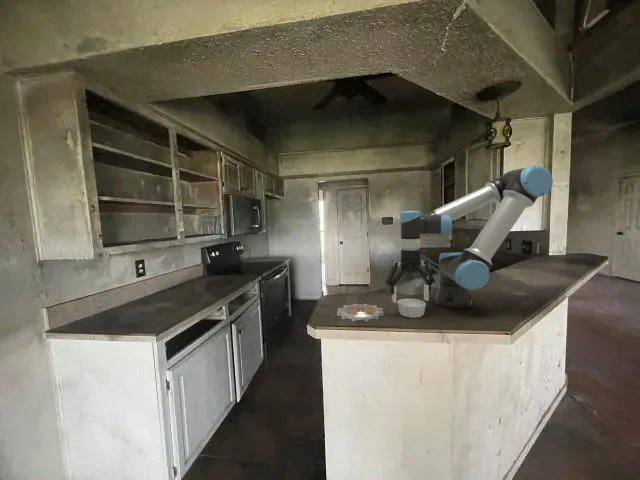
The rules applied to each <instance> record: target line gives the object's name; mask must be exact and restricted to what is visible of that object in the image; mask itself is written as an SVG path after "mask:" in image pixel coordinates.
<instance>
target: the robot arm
mask: <svg viewBox="0 0 640 480" xmlns="http://www.w3.org/2000/svg"><path fill="white" fill-rule="evenodd" d="M552 177H553V176H552V173H551V172H550V171H549V170H548V168H546V167H545V166H543V165H542V166H541V165H529V166H526V167H523V168H516V169H513V170H510V171H508V172H506V173H504V174H502V175H500V176H499V177H496V178H494V179H493V180H491V181H489V182H486V183H485V185H484V186H483V187H481V188H478V189H476V190H475V191H472V192H470V193H469V194H466V195H464V196H462V197H459V198H457V199H455V200H453V201H450V202H448V203H447V204H444V205H442V206H440V207H438V208H436V209H433V210H431V211H429V212H427V213H425V214H421V211H420V210H403V211H402V212H401V213H400V248H401V249H400V261H395V260H393V262H392V267H391V269H390V271H389V274H388V275H387V277H386V280H385V282H384V283H385V284H386V285H388V286H389V293H390V294H391V302H393V303H394V304H396V303H397V286H396V284H397V283H398V282H399V281H400V279H401V278H402V277H403V275H405V274H406V273H415V272H416V273H417V274H418V275H419V277H420V278H421V279H422V280H423V282H425V283H423V301H425V302H426V301H427V302H428V301H429V298H430V293H431V290H432V289H431V288H432V287H431V286H432V285H433V284H435V283H436V280H435V277H434V276H433V273H432V271H431V269H430V267H429V262H428V260H425V259H423V260H421V250H420V249H421V235H443V234H444V235H445V234H450V233H451V232H452V229H453V221H454V220H457V219H459V218H461V217H463V216H465V215H469V214H470V213H471V212H474V211H476V210H478V209H481V208H483V207H485V206H488V205H489V204H491V203H494V204H497V203H499V205H497V207H496V209H495V210H494V212H493V213H492V214H491V217H489V219H488V221H487V222H486V224H485V225H484V227H483V228H482V229H481V231H480V232H479V234H478V236H477V237H476V238H475V240H474V241H473V243H472V244H471V246H470V247H469V248H464V249H463V250H462V252H461V251H460V252H459V251H458V252H441V253H440V254H439V259H438V262H439V263H438V265H439V266H438V267H439V268H438V270H439V276H438V277H439V286H438V289H437V293H436V295H435V303H436V304H437V305H439V306H442V307H445V308H446V307H447V308H453V309H462V308H463V309H465V308H470V307H471V306H473V299H472V295H471V293H470V290H478V289H481V288H483V287H484V286H485V285H486V284H487V283H488V282H489V280H490V276H491V275H490V269H491V267H492V266H493V263H492V258H493V256H494V255H495V254H496V252H497V251H498V249H499V248H500V246H501V245H502V244H503V242H504V240H505V239H506V237H507V236H508V234H509V233H510V231H511V230H512V228H513V227H514V225H515V224H516V223H517V222H518V220H519V218H520V217H521V215H522V214H523V213H524V211H525V210H526V209H527V208H531V207H533V205H534V204H535V203H536V201H537V200H538V198H539V197H543V196H545V195H547V194H548V193H550V191H551V189H552V187H553V185H554V184H553V182H554V181H553V178H552ZM420 266H422V268H423V270H424V271H425V274H424V272H423V271H422V270H421V268H420ZM399 267H400V269H399V270H398V268H399ZM397 271H398V272H397Z"/></svg>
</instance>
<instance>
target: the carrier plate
mask: <svg viewBox="0 0 640 480" xmlns="http://www.w3.org/2000/svg"><path fill="white" fill-rule="evenodd" d="M336 315H337V316H338V317H341V319H342V320H350V321H352V322H356V321H360V322H361V321H362V322H363V321H364V322H369V321H371V320H379V317H384V315H385V313H384V309H383V307H378V305H372V304H368V303H361V304H360V303H359V304H357V303H353V304H349V305H346V304H345V305H343V306H342V307H338V308H337V312H336Z"/></svg>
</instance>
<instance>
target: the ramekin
mask: <svg viewBox="0 0 640 480" xmlns="http://www.w3.org/2000/svg"><path fill="white" fill-rule="evenodd" d="M396 303H397V304H396V305H397V307H398V308H397V309H398V312H399V315H400V316H402V317H404V316H405V317H404V318H407V317H409V319H419V318H421V317H423V316H424V315H425V312H426V311H425V310H426V306H427V303H426V301H425V300H422V299H417V298H401V299H399V300H396Z"/></svg>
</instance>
